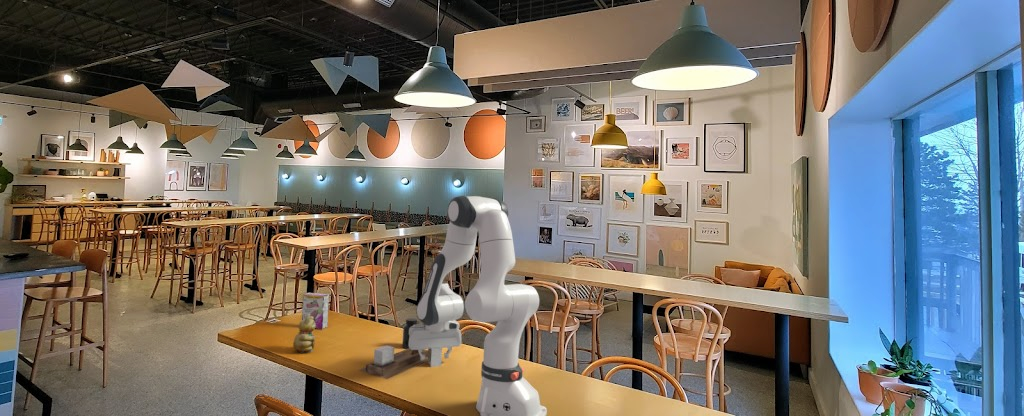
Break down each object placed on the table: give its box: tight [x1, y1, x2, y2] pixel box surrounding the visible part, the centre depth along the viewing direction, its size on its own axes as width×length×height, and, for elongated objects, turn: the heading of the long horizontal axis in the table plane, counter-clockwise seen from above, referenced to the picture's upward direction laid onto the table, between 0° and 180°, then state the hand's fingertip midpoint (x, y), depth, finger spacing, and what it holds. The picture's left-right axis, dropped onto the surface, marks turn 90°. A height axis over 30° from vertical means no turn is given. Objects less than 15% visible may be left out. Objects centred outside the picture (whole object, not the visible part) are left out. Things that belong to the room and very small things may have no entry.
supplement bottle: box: [402, 317, 418, 349], centre depth 201 cm, size 7×7×12 cm
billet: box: [427, 347, 443, 368], centre depth 177 cm, size 4×6×8 cm, turn 22°
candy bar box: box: [301, 292, 330, 330], centre depth 223 cm, size 11×5×16 cm, turn 82°
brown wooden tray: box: [358, 348, 428, 380], centre depth 175 cm, size 14×27×4 cm, turn 152°
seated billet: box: [373, 345, 395, 368], centre depth 168 cm, size 4×6×8 cm, turn 152°
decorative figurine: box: [292, 314, 316, 353], centre depth 189 cm, size 10×8×15 cm
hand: (434, 359), depth 177 cm, fingers open, 8 cm apart
